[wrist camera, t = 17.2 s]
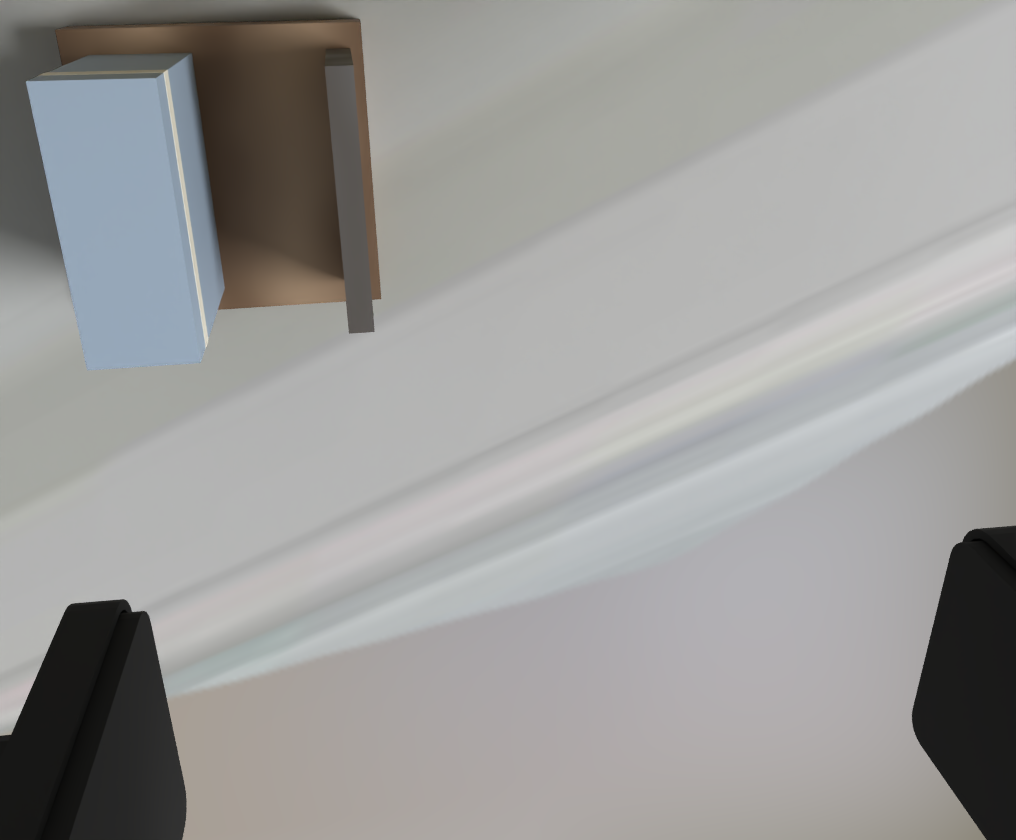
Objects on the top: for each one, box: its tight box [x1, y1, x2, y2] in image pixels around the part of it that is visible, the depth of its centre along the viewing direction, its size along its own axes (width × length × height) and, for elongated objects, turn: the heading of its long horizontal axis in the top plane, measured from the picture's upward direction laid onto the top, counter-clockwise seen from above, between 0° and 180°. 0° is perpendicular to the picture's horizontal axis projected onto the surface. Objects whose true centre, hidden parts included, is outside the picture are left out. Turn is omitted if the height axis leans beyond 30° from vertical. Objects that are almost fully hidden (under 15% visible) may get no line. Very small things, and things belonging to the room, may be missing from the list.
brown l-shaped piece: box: [55, 19, 381, 333], centre depth 40 cm, size 12×12×9 cm
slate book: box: [26, 53, 225, 370], centre depth 37 cm, size 4×10×9 cm, turn 0°
